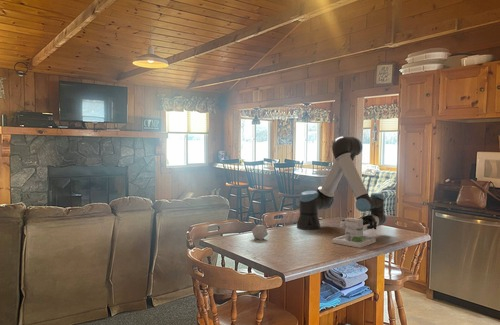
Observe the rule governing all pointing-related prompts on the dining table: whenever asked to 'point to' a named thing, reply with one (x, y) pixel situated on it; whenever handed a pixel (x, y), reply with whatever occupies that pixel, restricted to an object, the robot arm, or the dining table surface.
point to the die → (259, 232)
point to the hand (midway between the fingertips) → (351, 226)
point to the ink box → (354, 229)
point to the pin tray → (354, 243)
